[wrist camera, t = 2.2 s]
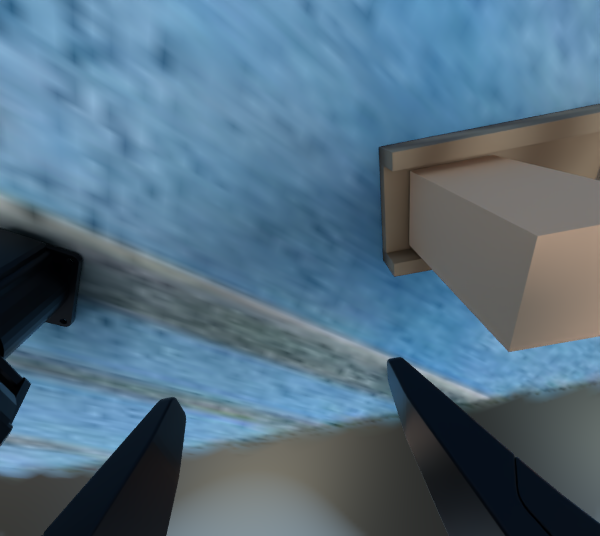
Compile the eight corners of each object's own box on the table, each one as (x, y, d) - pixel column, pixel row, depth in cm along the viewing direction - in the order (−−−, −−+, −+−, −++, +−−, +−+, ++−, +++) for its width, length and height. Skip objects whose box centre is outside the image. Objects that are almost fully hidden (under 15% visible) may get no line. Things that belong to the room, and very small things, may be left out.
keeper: (409, 244, 20) (509, 352, 12) (410, 170, 18) (537, 236, 9) (481, 231, 20) (638, 329, 11) (493, 155, 18) (703, 205, 9)
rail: (383, 260, 22) (394, 276, 20) (379, 147, 18) (392, 152, 16) (613, 217, 22) (649, 229, 19) (660, 91, 18) (712, 90, 15)
